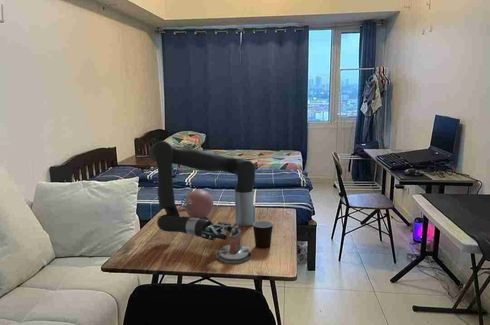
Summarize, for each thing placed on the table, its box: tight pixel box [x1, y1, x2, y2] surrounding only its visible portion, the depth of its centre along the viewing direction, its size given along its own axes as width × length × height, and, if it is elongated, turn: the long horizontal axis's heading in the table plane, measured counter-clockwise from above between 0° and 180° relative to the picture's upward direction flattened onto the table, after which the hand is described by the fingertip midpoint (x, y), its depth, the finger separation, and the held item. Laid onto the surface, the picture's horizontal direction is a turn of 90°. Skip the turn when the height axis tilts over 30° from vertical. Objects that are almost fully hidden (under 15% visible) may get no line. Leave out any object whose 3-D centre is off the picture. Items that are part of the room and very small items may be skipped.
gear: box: [180, 194, 187, 206], centre depth 221 cm, size 11×6×10 cm
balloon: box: [181, 189, 214, 219], centre depth 199 cm, size 15×20×15 cm
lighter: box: [229, 225, 242, 255], centre depth 152 cm, size 8×3×10 cm, turn 161°
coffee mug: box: [252, 220, 274, 250], centre depth 164 cm, size 12×9×10 cm
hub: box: [216, 244, 252, 265], centre depth 153 cm, size 14×14×3 cm
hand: (231, 233), depth 152 cm, fingers open, 8 cm apart
